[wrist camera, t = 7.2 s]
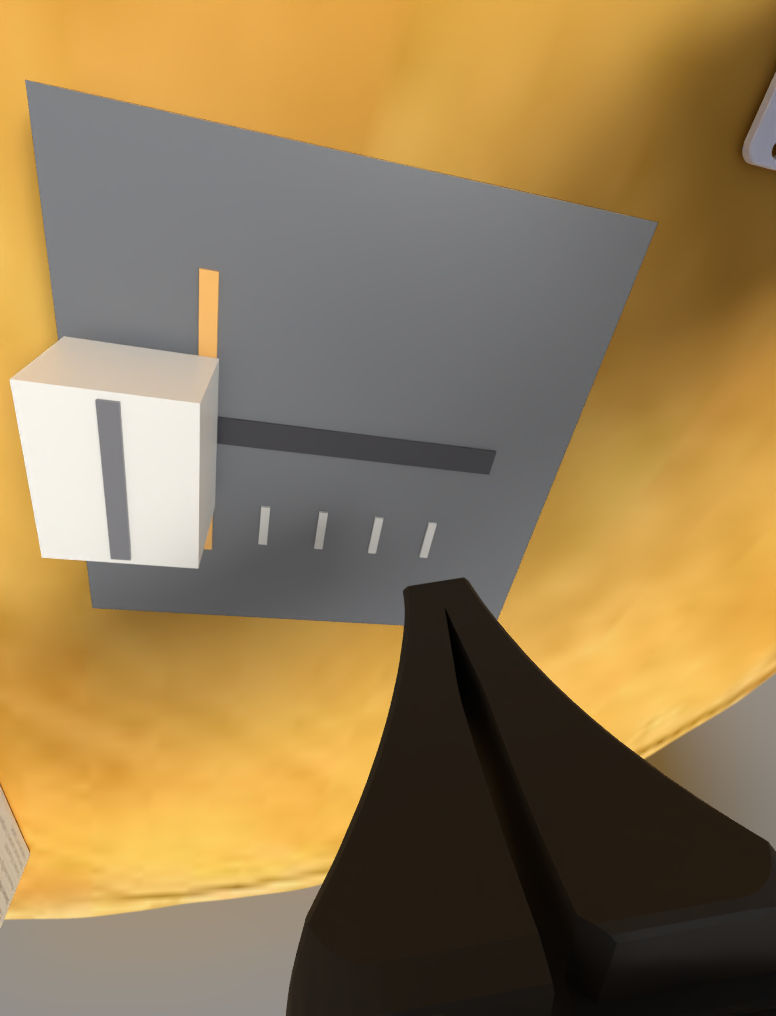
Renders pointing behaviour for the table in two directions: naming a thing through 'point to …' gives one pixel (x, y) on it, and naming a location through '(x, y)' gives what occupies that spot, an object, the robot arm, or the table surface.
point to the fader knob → (119, 451)
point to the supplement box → (10, 856)
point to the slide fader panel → (333, 348)
